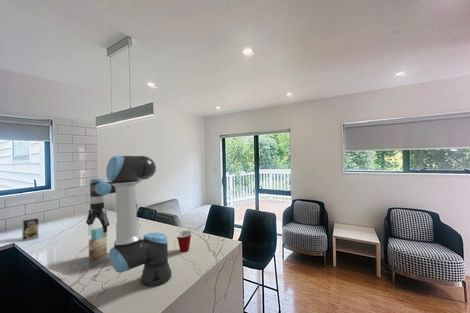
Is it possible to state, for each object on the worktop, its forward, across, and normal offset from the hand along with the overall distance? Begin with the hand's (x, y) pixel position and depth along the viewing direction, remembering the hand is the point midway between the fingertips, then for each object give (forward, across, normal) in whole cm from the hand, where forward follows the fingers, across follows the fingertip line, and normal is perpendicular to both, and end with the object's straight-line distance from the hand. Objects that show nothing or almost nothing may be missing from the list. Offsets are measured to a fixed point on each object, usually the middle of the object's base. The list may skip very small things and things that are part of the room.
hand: (97, 236), depth 135 cm
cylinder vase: (+15, -19, -7) cm, 25 cm away
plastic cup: (+16, -43, -32) cm, 56 cm away
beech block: (+8, 0, 0) cm, 8 cm away
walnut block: (+14, 0, 0) cm, 14 cm away
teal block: (+2, 0, 0) cm, 2 cm away
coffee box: (+15, +95, -3) cm, 96 cm away
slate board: (+15, -2, +2) cm, 15 cm away
